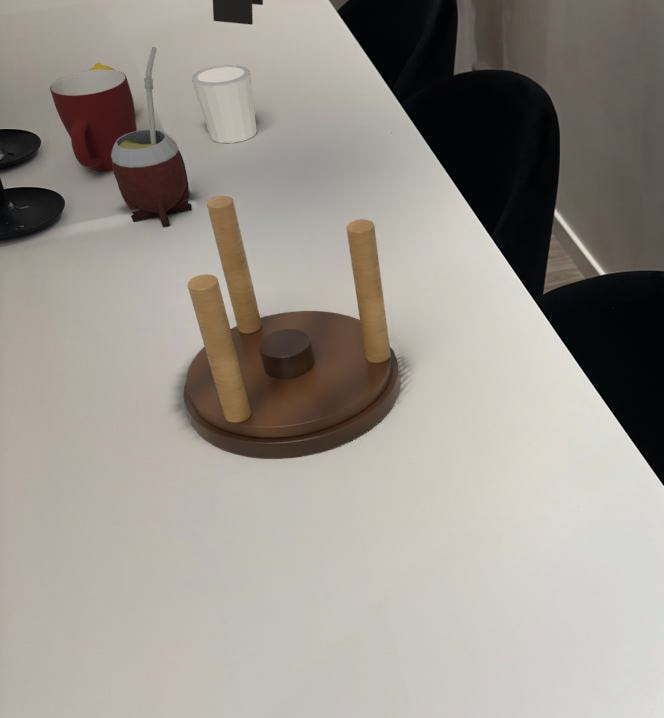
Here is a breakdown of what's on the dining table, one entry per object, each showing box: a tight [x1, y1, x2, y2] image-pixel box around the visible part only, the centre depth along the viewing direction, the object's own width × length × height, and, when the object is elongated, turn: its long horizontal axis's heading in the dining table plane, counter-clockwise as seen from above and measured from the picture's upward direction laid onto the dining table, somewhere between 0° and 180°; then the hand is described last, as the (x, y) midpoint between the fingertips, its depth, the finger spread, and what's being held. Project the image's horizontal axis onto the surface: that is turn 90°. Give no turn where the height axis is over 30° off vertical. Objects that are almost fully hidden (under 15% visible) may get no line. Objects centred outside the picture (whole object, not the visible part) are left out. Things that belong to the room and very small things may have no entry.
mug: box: [49, 69, 138, 172], centre depth 106 cm, size 10×8×10 cm
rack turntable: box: [185, 195, 392, 438], centre depth 72 cm, size 16×16×12 cm
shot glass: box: [191, 64, 258, 144], centre depth 115 cm, size 7×7×7 cm
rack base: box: [183, 346, 401, 460], centre depth 77 cm, size 17×17×2 cm
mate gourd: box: [111, 46, 193, 228], centre depth 97 cm, size 8×8×15 cm
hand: (240, 12), depth 76 cm, fingers open, 13 cm apart
